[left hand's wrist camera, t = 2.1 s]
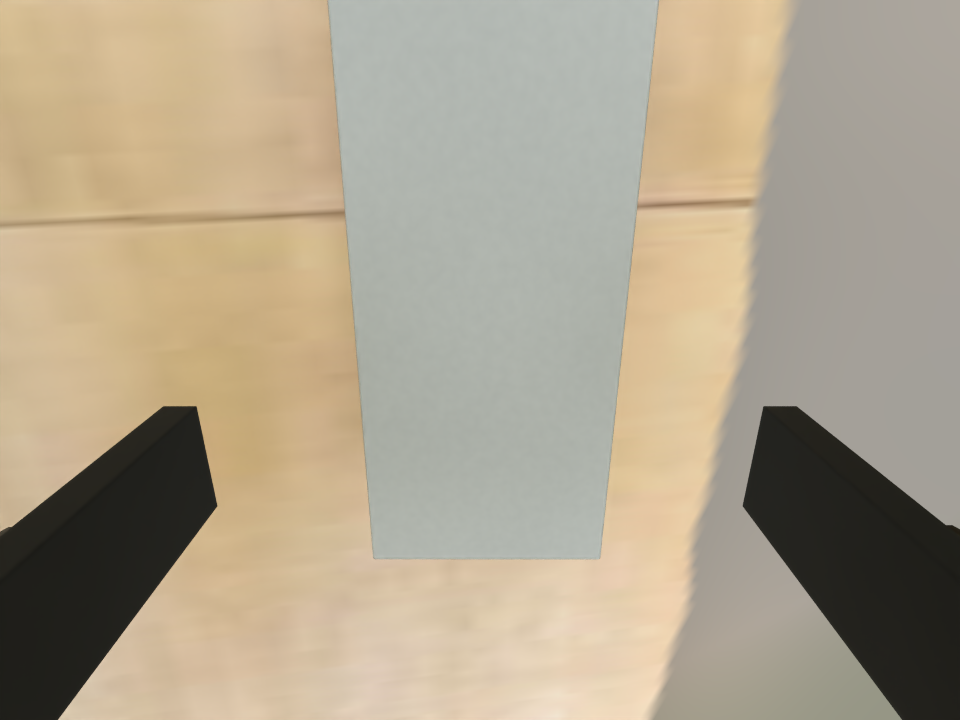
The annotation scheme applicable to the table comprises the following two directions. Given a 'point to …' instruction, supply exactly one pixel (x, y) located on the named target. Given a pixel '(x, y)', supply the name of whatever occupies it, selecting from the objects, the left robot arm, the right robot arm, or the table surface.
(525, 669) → the table surface
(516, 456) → the grey long rectangular bar
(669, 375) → the table surface
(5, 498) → the table surface
